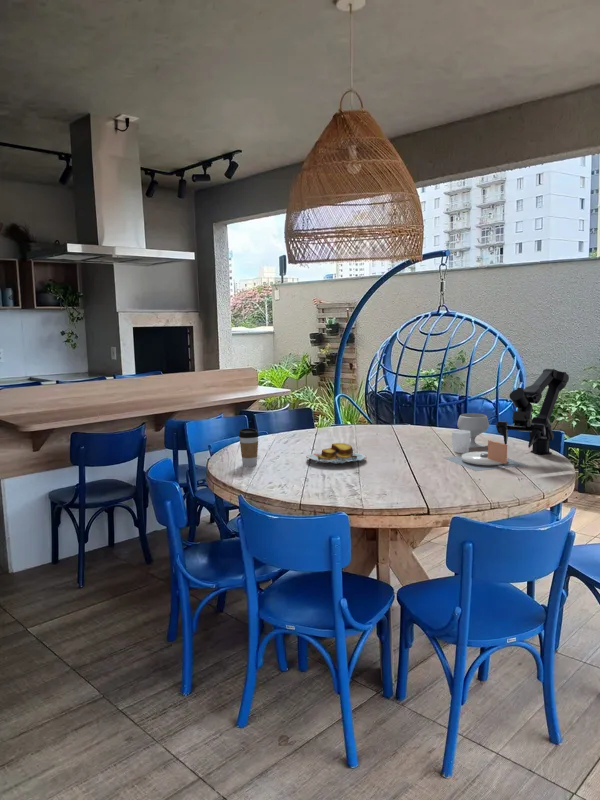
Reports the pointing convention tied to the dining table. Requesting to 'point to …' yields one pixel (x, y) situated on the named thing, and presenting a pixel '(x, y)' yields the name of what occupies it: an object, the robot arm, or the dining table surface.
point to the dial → (488, 455)
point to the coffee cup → (249, 446)
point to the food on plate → (337, 454)
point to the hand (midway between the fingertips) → (517, 446)
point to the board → (484, 467)
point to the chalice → (473, 426)
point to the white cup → (461, 441)
